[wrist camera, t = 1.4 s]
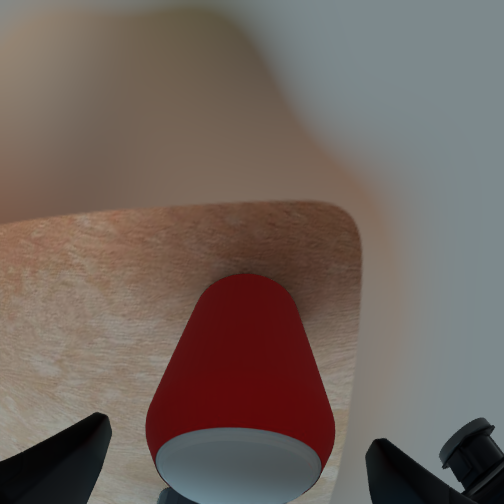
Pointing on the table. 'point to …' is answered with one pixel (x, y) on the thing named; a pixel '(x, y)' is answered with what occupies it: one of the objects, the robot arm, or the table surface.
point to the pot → (173, 497)
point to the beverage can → (241, 400)
